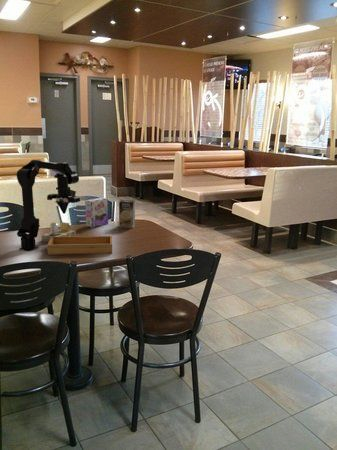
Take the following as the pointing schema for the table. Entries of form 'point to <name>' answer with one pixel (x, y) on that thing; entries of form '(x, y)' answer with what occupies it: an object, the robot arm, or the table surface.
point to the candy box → (96, 212)
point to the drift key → (64, 226)
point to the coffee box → (127, 213)
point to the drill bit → (54, 229)
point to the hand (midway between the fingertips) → (64, 213)
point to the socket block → (61, 233)
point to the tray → (80, 245)
